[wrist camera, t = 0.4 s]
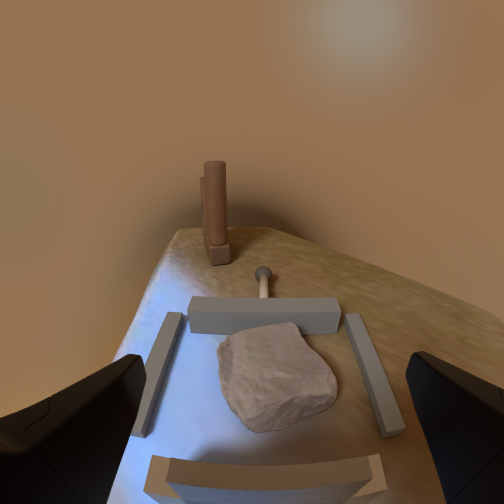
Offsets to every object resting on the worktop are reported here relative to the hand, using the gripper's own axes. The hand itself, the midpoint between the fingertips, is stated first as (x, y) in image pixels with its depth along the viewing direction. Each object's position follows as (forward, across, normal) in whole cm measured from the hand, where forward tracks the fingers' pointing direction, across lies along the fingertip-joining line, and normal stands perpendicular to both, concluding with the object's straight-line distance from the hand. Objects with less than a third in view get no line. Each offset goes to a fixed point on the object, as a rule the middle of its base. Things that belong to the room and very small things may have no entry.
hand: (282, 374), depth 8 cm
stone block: (+15, 0, +14) cm, 21 cm away
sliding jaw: (+2, 0, +16) cm, 16 cm away
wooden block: (+46, +9, +10) cm, 47 cm away
